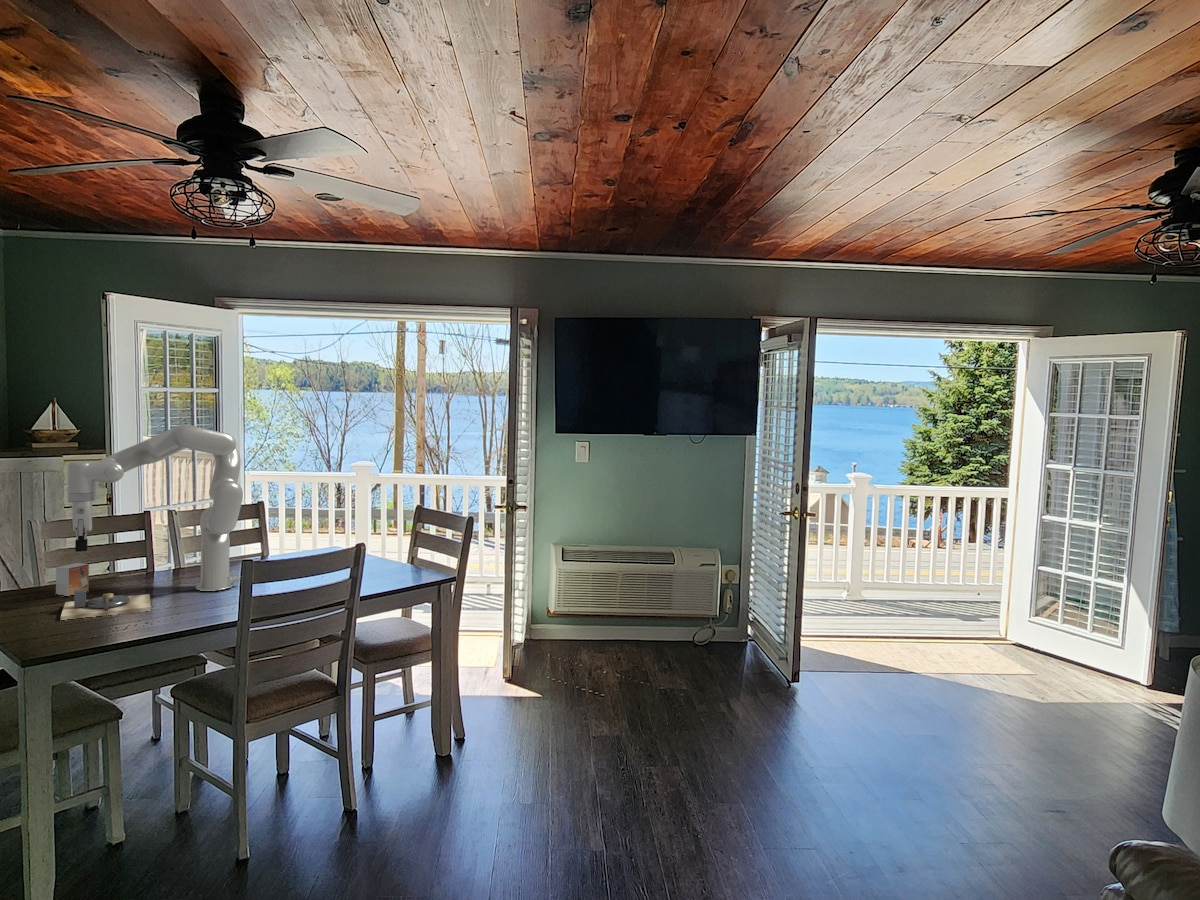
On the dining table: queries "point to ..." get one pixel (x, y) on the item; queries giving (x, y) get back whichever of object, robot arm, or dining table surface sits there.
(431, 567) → the dining table surface
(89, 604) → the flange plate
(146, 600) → the post board
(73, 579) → the small box
